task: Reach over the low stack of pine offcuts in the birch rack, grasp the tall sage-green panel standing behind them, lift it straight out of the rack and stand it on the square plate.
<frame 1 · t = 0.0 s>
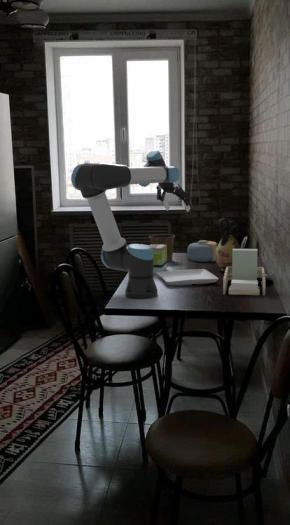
hand: (178, 209, 284), 36 cm above the table, tool tilted 35°, fingers open, 13 cm apart
tall panel: (244, 267, 260), in the rack
tea box: (156, 271, 302), on the table
plant pot: (162, 261, 335), on the table
lower offcut: (244, 294, 246), on the table, touching upper offcut
rack: (244, 285, 262), on the table
upper offcut: (244, 287, 246), point 2 cm above the table, touching lower offcut
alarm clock: (203, 259, 339), on the table
square plate: (186, 281, 275), on the table
ceramic jug: (227, 270, 300), on the table
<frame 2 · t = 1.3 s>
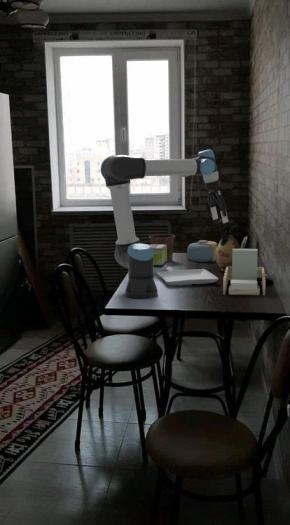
hand: (220, 220, 272), 31 cm above the table, tool pointing down, fingers open, 13 cm apart
nothing on the table moved.
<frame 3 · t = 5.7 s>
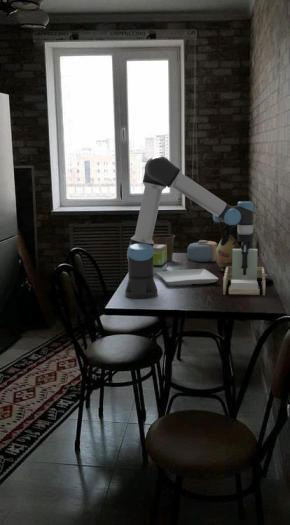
hand: (244, 279, 261), 3 cm above the table, tool pointing down, fingers closed on tall panel, 5 cm apart
tall panel: (244, 267, 260), in the rack, touching gripper
when the fingers open (8 cm above the table, at t = 14.5 s): tall panel drops 2 cm, resting on square plate.
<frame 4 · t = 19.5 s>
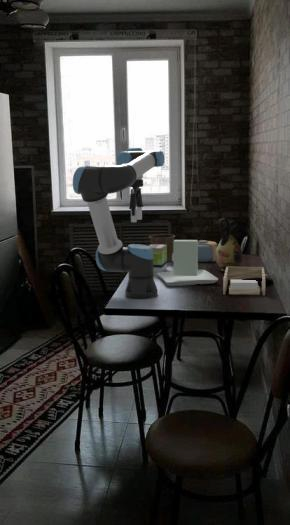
hand: (136, 220, 271), 32 cm above the table, tool pointing down, fingers open, 13 cm apart
tall panel: (185, 257, 273), point 12 cm above the table, touching square plate
square plate: (186, 282, 276), on the table, touching tall panel
everything else where it was.
at the end: tall panel inside the target area on the square plate (0.3 cm from its centre), point 13.1 cm above the square plate's base; tall panel tilted 0°; the gripper is holding nothing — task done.
